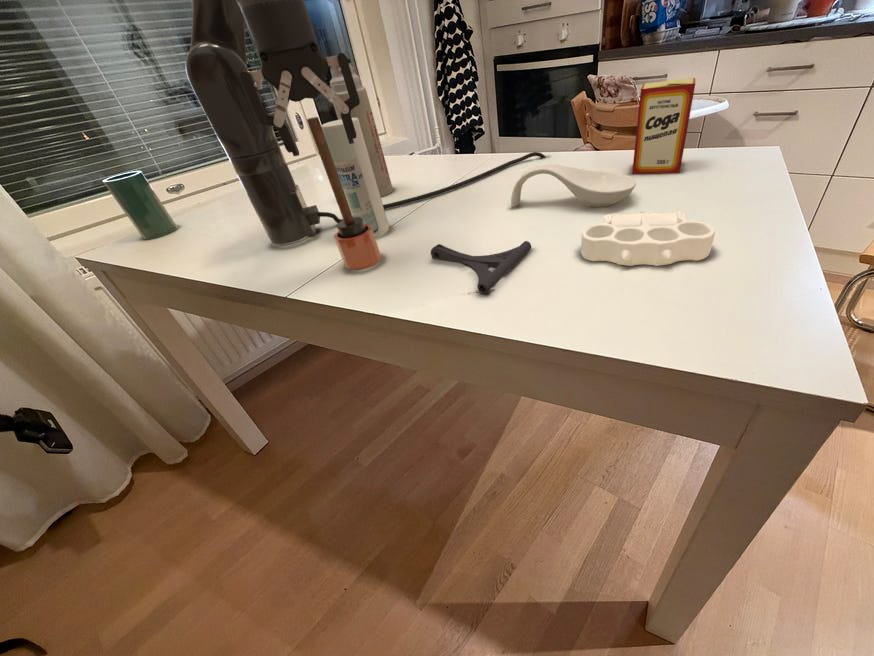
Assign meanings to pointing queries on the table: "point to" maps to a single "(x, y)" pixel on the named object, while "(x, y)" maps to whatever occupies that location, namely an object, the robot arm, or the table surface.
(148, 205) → the cup
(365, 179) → the spray can
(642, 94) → the baking soda box
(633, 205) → the table surface
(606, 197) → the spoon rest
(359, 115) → the thermos bottle
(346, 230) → the long wooden handle
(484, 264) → the bracket
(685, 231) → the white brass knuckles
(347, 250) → the holder
